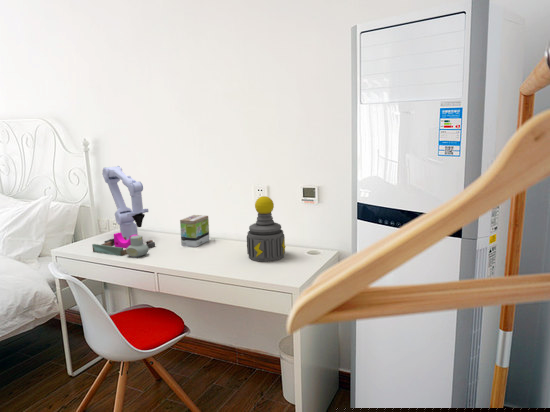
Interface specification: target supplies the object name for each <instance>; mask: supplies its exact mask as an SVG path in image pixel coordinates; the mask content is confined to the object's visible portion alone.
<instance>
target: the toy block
mask: <svg viewBox="0 0 550 412" xmlns="http://www.w3.org/2000/svg"><path fill="white" fill-rule="evenodd" d="M132 236H136V235H132ZM132 236H130V238H131V237H132ZM113 238H114V244H115V245H114V247H121V248H123V249H127V248H128V246H130V245H131V241H130V238H129V239H128V240H125V239H124V238H123V236H122V233H120V232H116V233H113Z"/></svg>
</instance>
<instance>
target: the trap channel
mask: <svg viewBox="0 0 550 412" xmlns="http://www.w3.org/2000/svg"><path fill="white" fill-rule="evenodd" d="M123 238H124V239H125V240H127V239H126V237H123ZM155 242H156V241H155ZM155 242H154V240H153V239H151V240H147V241H145V244H146V245H147V246H148V248H149V250H150V249H152V248H155V247H156V243H155ZM91 245H92V252H93V253H99V254H106V255H113V256H121V257H123V256H126V255H128V254H127V252H126V248H121V247H115V244H114V237H113V238H110V239H107V240H104V241H103V243H102V244H98V243H92V244H91Z"/></svg>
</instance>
